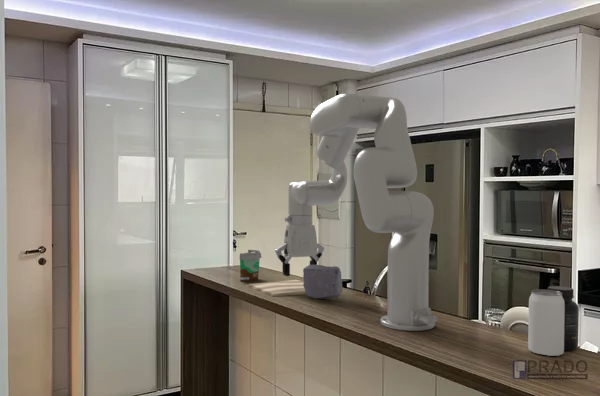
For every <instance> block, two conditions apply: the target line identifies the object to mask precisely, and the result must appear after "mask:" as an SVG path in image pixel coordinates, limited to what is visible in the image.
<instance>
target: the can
mask: <svg viewBox="0 0 600 396" xmlns="http://www.w3.org/2000/svg"><path fill="white" fill-rule="evenodd" d="M564 312H565V304H564V299H563V297H562V293H561V292H558V291H553V290H548V289H532V290H531V294H530V296H529V298H528V328H527V329H528V333H527V334H528V335H527V337H528V338H527V339H528V340H527V341H528V343H527V347H528V350H529V351H530V353H532V352H533V353H532V354H534V353H537V354H543V355H548V356H547V357H549V356H557V357H560V355H561V356H562V355H563V354H564V353H565V352H564V351H565V350H564ZM537 354H536V355H537Z"/></svg>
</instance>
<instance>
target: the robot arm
mask: <svg viewBox="0 0 600 396" xmlns="http://www.w3.org/2000/svg"><path fill="white" fill-rule="evenodd" d="M406 112H407V111H406V108H405V105H404V103H403V102H402V101H401V100H400V99H398V98H396V97H391V96H378V95H370V94H359V93H346V92H345V93H340V94H338V95H336V96H334V97H332V98H330V99H327V100H325V101H324V102H322V103H320V104H319V105H318V106H316V108H315V109H314V110H313V112H312V114H311V116H310V120H309V127H310V130H311V131H312V133H313V134H314V135H315V136H320V137H321V140H320V142H319V144H318V146H317V148H316V155H317V158H319V160H320V161H321V162H322V163H324V165H327V166H329V167H330V168H332V169H333V171H332V173H331V176H330V178H329V180H304V181H292V182H290V183H289V184H288V215H287V217H284V221H285V222H287V225H286V227H285V232H284V238H283V239H284V240H283V244H281V245H280V246H278V247H277V248H275V250H274V252H275V254H276V257H277V258H278V259H279V260H280V262H281V263H282V274H283V276H286V277H290V275H291V264H290V263H289V262H290V261H291V259H292V258H306V257H309V259H311V260H310V261H309V265H318V262H319V259H320V258H321V257H322V255H323V252H324V251H325V247H324V246H322V245H321V244H319V243H318V241H317V240H318V239H317V232H316V231H317V230H316V226H315V224H313V206H332V205H334V204H336V203H337V202H339V200H340V199H341V197H342V195H343V193H344V190H345V189H346V186H347V182H348V168H347V166H346V164H345V159H346V157H347V155H348V153H349V151H350V149H351V147H352V144H353V143H354V141H355V139H356V137H357V134H358V133H359V130H360V129H368V130H369V129H370V130H371V129H372V130H374V133H373V141H374V145H375V147H374V146H373V147H366V148H364V149H362V150H361V151H360V152H359V153H358V154H356V155H357V156H355V160H354V163H353V179H354V184H355V189H356V194H357V199H358V203H359V209H360V213H361V216H362V220H363V223H364V225H365V226H366V228H367V229H368V230H370V231H371V232H373V233H376V234H377V233H378V234H388V233H390V234H392V233H393V235H392V237H391V240H390V242H389V244H388V248H387V249H388V250H387V297H386V298H387V305H386V306H387V308H386V310H387V314H385V315H383V316H382V317H381V318H380V324H381V325H382V326H383V327H386V328H389V329H392V330H399V331H405V332H407V331H409V332H420V331H421V332H422V331H427V330H428V331H429V330H432V329H433V328H435V327H436V322H437V321H438V316H436V315H432V309H431V307H429V273H430V271H429V266H430V265H429V263H430V262H429V261H430V238H431V230H432V226H433V221H434V217H435V216H434V214H435V213H434V212H435V211H434V205H433V203H432V200H431V199H430V198H429V197H428V196H427V195H425V194H424V193H421V192H419V191H413V190H412V191H410V190H399V191H398V190H397V191H392V190H390V191H389V189H401V188H407V187H409V186H412V185H413V184H415V183H416V180H417V178H418V169H417V163H416V158H415V153H414V150H413V146H412V143H411V142H412V141H411V137H410V135H409V130H408V121H407V113H406ZM282 251H283V253H282ZM283 254H284V255H283Z"/></svg>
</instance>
